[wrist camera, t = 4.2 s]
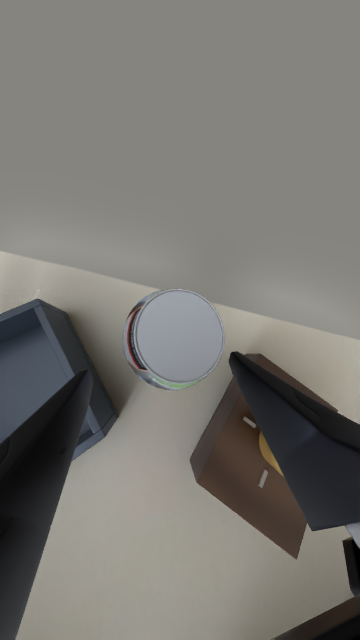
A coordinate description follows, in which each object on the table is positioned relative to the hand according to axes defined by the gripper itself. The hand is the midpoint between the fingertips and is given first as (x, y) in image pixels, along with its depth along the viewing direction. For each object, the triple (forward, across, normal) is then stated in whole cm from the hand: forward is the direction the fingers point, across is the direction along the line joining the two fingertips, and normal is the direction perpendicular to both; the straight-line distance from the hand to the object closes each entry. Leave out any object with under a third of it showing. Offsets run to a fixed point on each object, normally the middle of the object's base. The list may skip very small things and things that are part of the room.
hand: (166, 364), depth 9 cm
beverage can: (+8, 0, +5) cm, 10 cm away
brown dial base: (0, -11, +13) cm, 17 cm away
